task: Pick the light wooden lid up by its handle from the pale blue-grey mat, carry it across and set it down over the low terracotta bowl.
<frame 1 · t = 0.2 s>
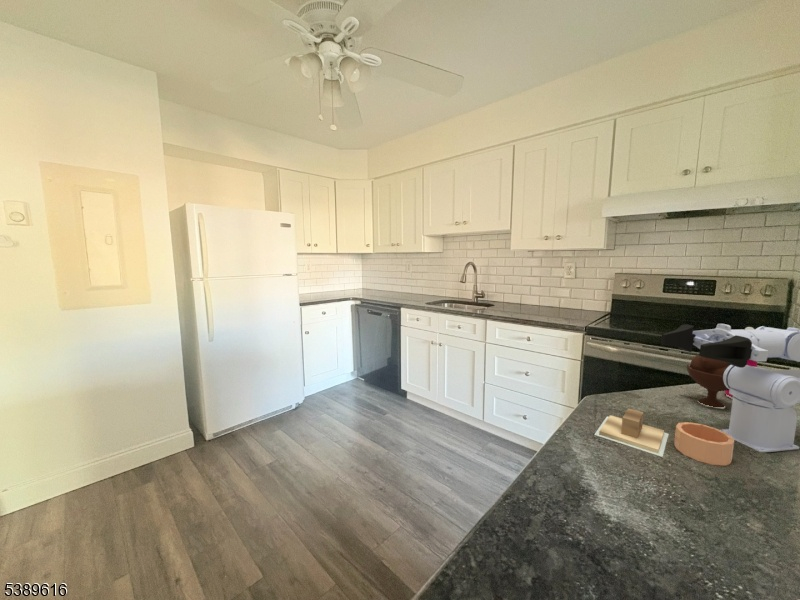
hand: (681, 344, 62), 21 cm above the countertop, tool horizontal, fingers open, 7 cm apart
pepper mill: (740, 399, 88), on the countertop
lid: (631, 434, 69), resting on mat
mat: (631, 435, 70), on the countertop
bowl: (701, 454, 63), on the countertop
ice cream bowl: (710, 405, 84), on the countertop
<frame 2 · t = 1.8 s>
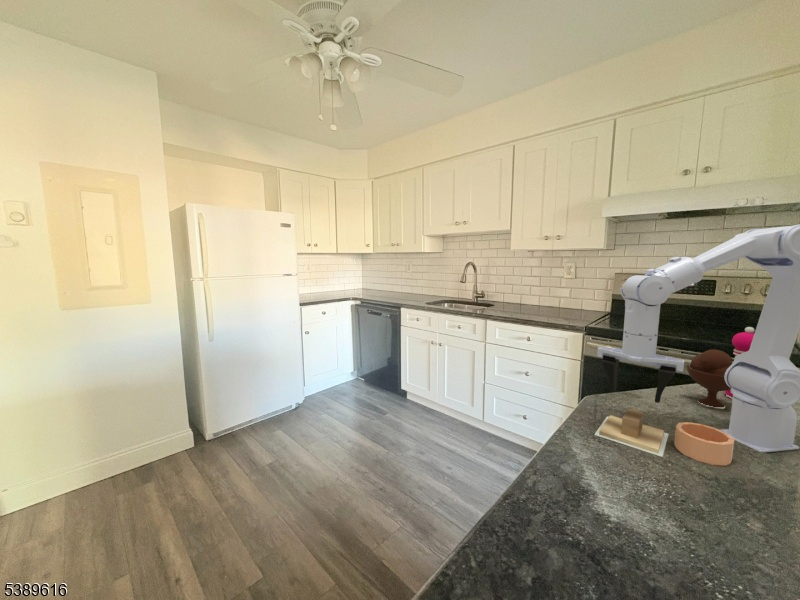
hand: (634, 395, 68), 9 cm above the countertop, tool pointing down, fingers open, 7 cm apart
nothing on the countertop moved.
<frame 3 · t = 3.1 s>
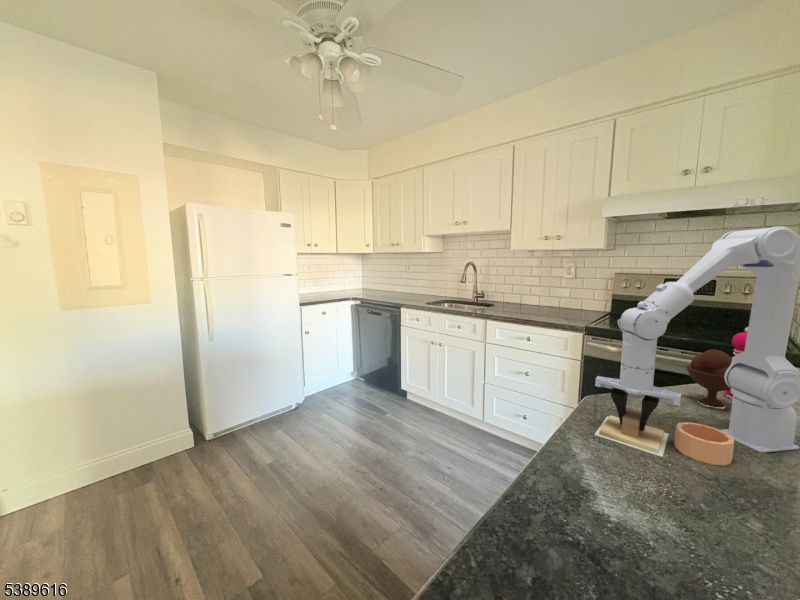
hand: (632, 426, 69), 2 cm above the countertop, tool pointing down, fingers closed on lid, 3 cm apart
lid: (631, 434, 69), resting on mat, touching gripper
everything else where it was.
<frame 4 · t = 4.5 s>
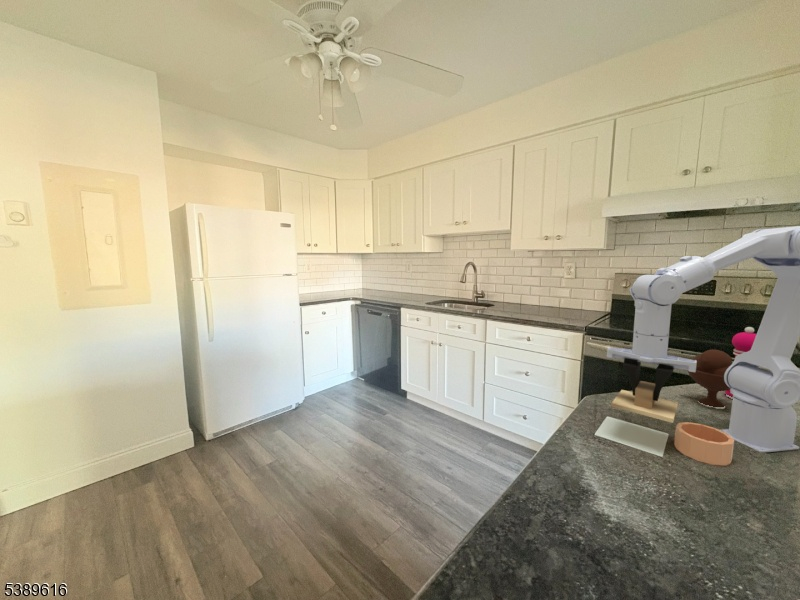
hand: (645, 396, 67), 9 cm above the countertop, tool pointing down, fingers closed on lid, 3 cm apart
lid: (644, 406, 68), point 7 cm above the countertop, touching gripper
everything else where it was.
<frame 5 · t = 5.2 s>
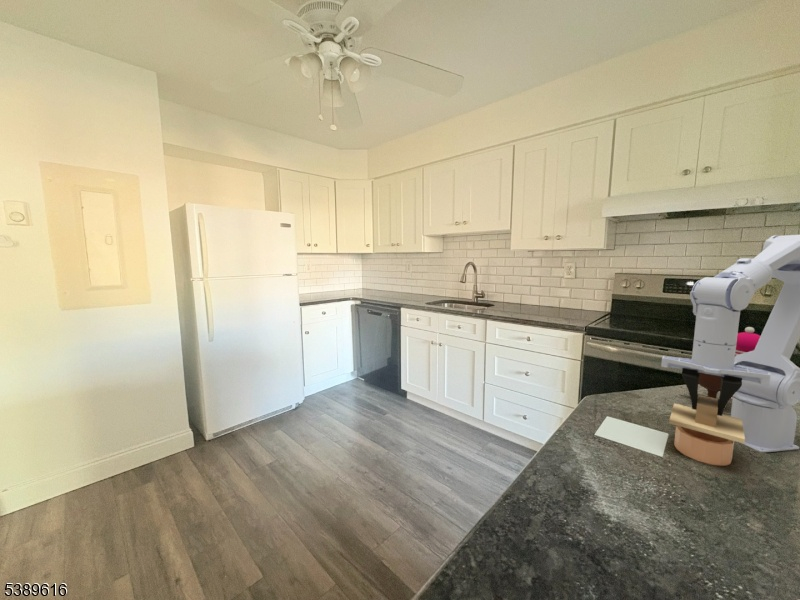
hand: (706, 410, 62), 9 cm above the countertop, tool pointing down, fingers closed on lid, 3 cm apart
lid: (705, 423, 62), point 6 cm above the countertop, touching gripper
everything else where it was.
when the fingers open (7 cm above the countertop, at t = 5.7 s): lid stays where it is, resting on bowl.
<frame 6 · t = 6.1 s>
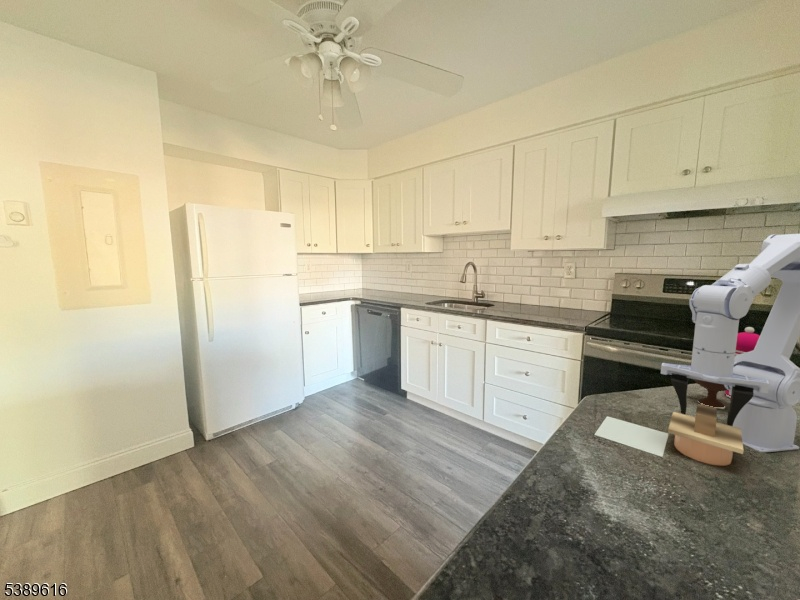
hand: (705, 417, 62), 8 cm above the countertop, tool pointing down, fingers open, 6 cm apart
lid: (704, 432, 62), point 4 cm above the countertop, touching bowl
everything else where it was.
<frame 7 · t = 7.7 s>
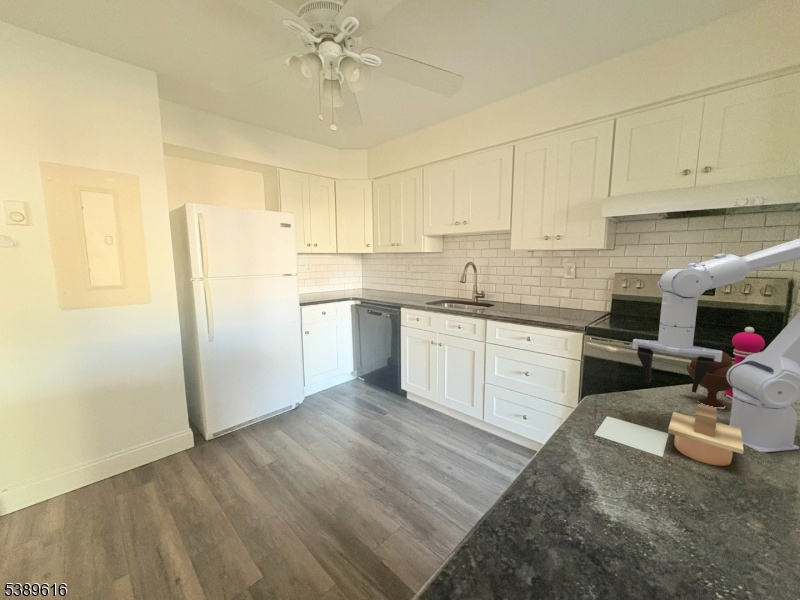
hand: (670, 386, 70), 10 cm above the countertop, tool pointing down, fingers open, 7 cm apart
nothing on the countertop moved.
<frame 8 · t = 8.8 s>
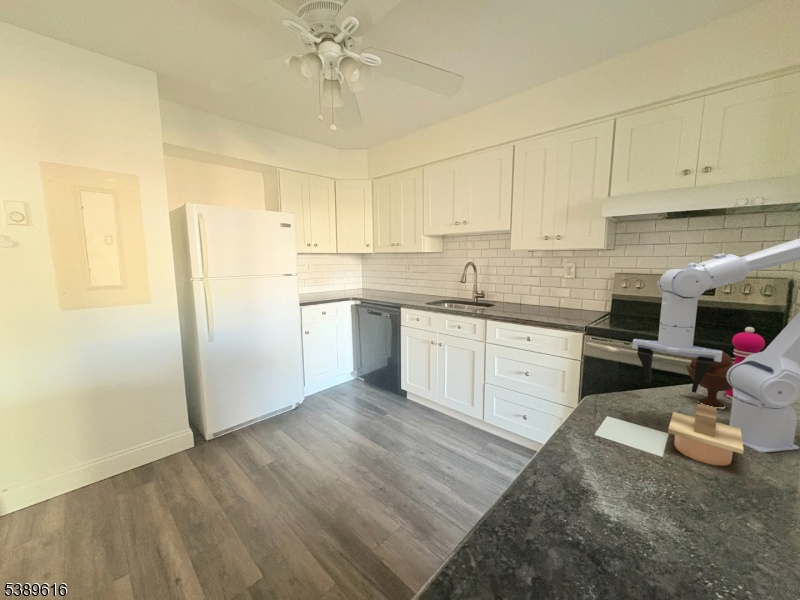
hand: (670, 386, 70), 10 cm above the countertop, tool pointing down, fingers open, 7 cm apart
nothing on the countertop moved.
at the end: lid 0.1 cm off-centre on the bowl, point 4.5 cm above the bowl's base; lid tilted 0°; the gripper is holding nothing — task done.
